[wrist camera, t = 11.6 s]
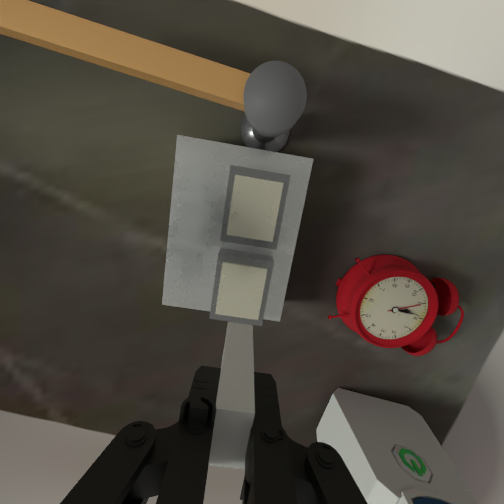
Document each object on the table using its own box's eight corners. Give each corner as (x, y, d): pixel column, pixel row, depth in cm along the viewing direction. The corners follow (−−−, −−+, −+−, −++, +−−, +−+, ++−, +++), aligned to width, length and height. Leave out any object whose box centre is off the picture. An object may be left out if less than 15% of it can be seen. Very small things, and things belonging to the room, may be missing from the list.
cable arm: (290, 114, 27) (315, 72, 17) (278, 155, 28) (295, 138, 18) (67, 42, 26) (-58, -54, 15) (62, 88, 26) (-59, 27, 16)
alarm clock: (361, 245, 28) (515, 303, 26) (351, 238, 34) (476, 285, 32) (320, 332, 30) (459, 391, 28) (318, 310, 36) (432, 358, 34)
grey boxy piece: (175, 286, 32) (154, 315, 25) (195, 90, 27) (175, 57, 20) (275, 300, 33) (282, 333, 26) (312, 111, 28) (334, 87, 21)
